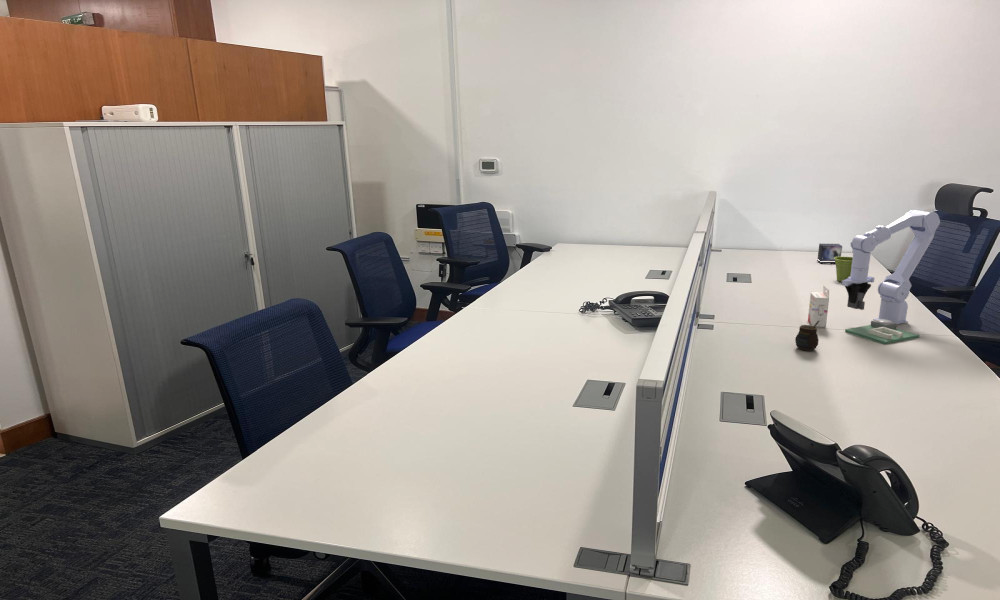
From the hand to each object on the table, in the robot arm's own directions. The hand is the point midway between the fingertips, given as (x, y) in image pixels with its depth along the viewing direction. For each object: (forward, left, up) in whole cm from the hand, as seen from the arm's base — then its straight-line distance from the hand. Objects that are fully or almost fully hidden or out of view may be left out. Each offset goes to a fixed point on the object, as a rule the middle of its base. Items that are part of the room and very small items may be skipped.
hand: (855, 302), depth 248 cm
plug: (0, 0, -2) cm, 2 cm away
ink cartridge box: (+12, -7, -9) cm, 16 cm away
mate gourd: (+39, +13, -9) cm, 42 cm away
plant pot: (-59, -54, -9) cm, 80 cm away
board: (+2, +13, -9) cm, 16 cm away
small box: (-88, -89, -9) cm, 125 cm away
